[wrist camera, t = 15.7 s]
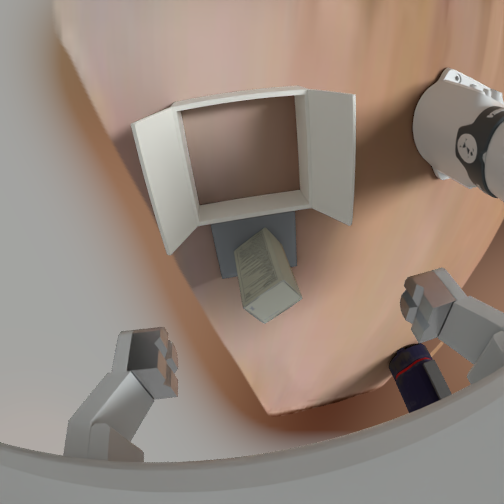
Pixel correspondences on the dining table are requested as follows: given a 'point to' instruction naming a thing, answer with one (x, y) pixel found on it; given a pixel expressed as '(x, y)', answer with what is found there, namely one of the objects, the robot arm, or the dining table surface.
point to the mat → (242, 230)
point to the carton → (309, 196)
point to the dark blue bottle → (418, 377)
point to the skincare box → (265, 277)
